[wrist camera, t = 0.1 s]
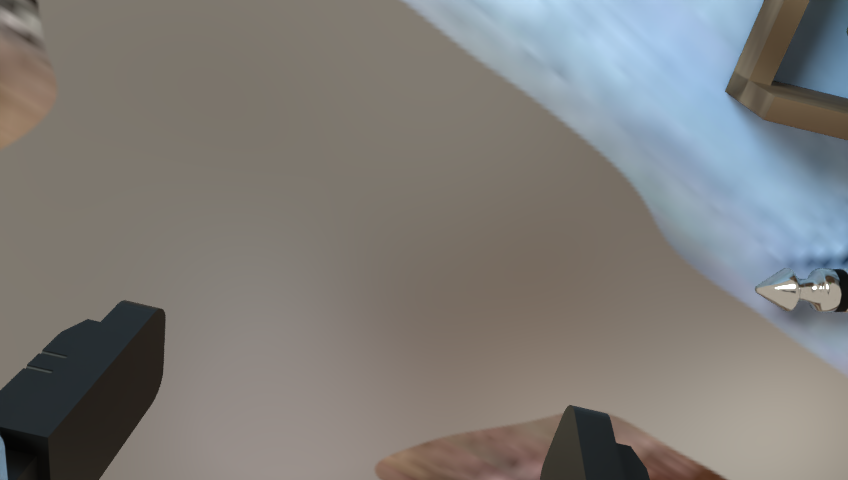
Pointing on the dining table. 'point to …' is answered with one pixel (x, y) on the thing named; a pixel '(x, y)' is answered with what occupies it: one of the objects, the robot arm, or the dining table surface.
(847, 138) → the frame
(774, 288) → the audio adapter
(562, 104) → the dining table surface
